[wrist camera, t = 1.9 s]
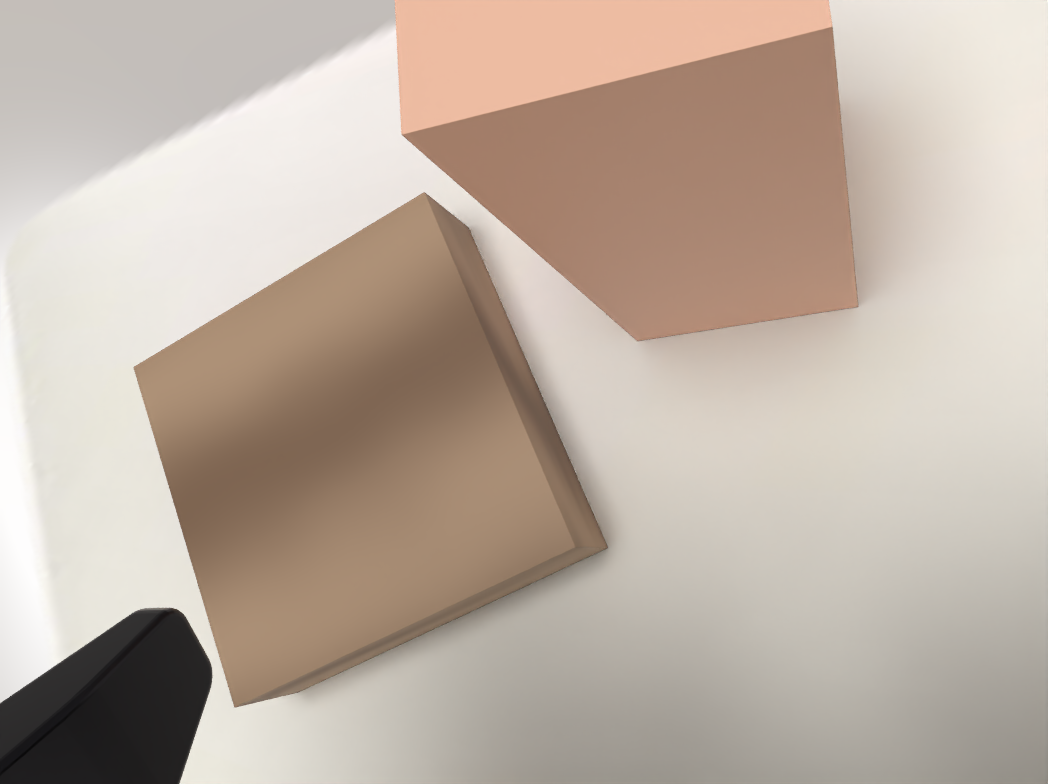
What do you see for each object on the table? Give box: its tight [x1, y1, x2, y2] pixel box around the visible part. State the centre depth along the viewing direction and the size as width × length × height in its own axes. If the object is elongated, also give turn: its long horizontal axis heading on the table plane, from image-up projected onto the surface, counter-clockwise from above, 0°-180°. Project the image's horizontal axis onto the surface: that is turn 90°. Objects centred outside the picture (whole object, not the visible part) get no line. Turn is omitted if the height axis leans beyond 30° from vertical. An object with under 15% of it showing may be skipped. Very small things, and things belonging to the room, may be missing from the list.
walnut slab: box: [134, 192, 608, 707], centre depth 23 cm, size 9×9×3 cm
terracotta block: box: [395, 0, 858, 341], centre depth 17 cm, size 5×5×12 cm
